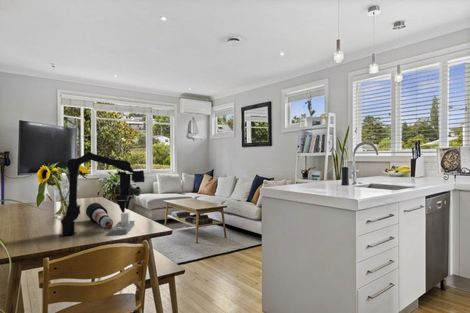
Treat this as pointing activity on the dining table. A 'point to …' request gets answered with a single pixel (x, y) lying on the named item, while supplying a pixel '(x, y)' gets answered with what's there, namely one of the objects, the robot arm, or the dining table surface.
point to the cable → (99, 215)
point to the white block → (125, 218)
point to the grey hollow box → (121, 228)
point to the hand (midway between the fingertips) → (125, 210)
